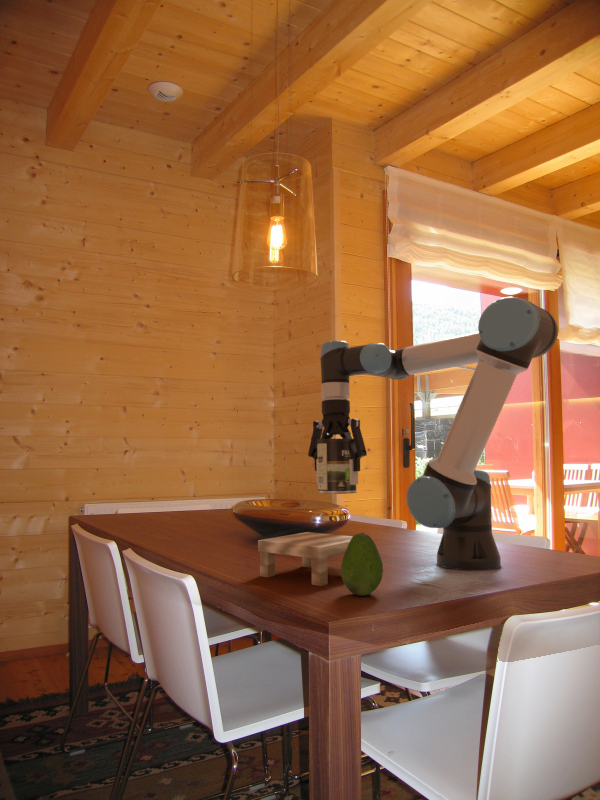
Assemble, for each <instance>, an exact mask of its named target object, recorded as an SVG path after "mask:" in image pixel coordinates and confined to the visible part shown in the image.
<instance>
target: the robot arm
mask: <svg viewBox="0 0 600 800" xmlns="http://www.w3.org/2000/svg"><path fill="white" fill-rule="evenodd" d="M477 328H478V329H477V330H478V331H474V332H471V333H466V334H461V335H456V336H452V337H448V338H444V339H439V340H434V341H430V342H429V341H428V342H425V343H420V344H415V345H412V346H407V347H403V348H399V349H398V348H397V349H394V350H393V349H390V348H389V347H388V346H387V345H386V344H385V343H382V342H378V343H377V342H376V343H372V342H370V343H368V344H361V345H355V346H351V347H350V346H349V343H348V342H347V341H345V340H328V341H325V342H323V343H322V344H321V346H320V348H321V349H320V359H319V360H320V369H321V370H320V373H321V381H320V382H321V385H320V386H321V389H320V390H321V391H320V392H321V393H320V394H321V395H320V398H321V399H323V400H322V401H321V414H322V420H313V422H312V428H313V429H312V435H311V439H310V444H309V447H308V448H309V449H308V453H307V455H308V457H310V458H313V459H314V471H315V472H316V485H318V453H317V452H318V451H317V439H333V437H334V436H337V435H339V436H340V438H341V439H354V442H355V443H350V442H349V452H350V454H351V456H352V458H351V459H349V468H350V485H356V486H357V485H359V472H360V471H361V458H363V457H367V455H368V452H367V449H366V446H365V442H364V438H363V434H362V430H361V420H360V419H359V418H351V417H350V413H351V401H350V400H348V399H349V398H351V397H350V396H351V395H350V391H351V390H350V377H352V376H353V377H354V376H363V375H367V376H373V377H374V376H375V377H381V378H385V379H390V380H395V381H397V380H405V379H407V378H409V377H410V376H412V375H417V374H425V373H427V372H428V373H429V372H433V371H439V370H445V369H446V370H447V369H451V368H456V367H462V366H466V365H473V364H476V367H475V368H474V369H475V370H474V372H473V373H472V377H471V379H470V380H469V384H468V386H467V388H466V390H465V392H464V395H463V397H462V399H461V402H460V404H459V407H458V409H457V411H456V413H455V415H454V419H453V421H452V423H451V425H450V428H449V430H448V432H447V435H446V437H445V440H444V441H443V444H442V446H441V449H440V451H439V454H438V455H437V457H434V458H432V459H430V460H428V461H427V465H426V467H425V469H424V472H423V474H422V476H419V477H417V478H415V479H414V480H413V481H411V483H410V485H409V486H408V489H407V491H406V506H407V507H408V510H409V513H410V515H411V516H412V518H413V519H414V521H416V522H417V523H419V524H420V525H422V526H424V527H425V528H426V527H427V528H431V529H442V536H441V540H440V542H439V544H438V545H439V546H438V548H437V553H436V564H437V565H438V566H441V567H443V568H448V569H454V570H455V569H456V570H467V571H484V570H487V571H488V570H493V569H499V568H500V567H502V561H501V554H500V552H499V550H498V547H497V543H496V541H495V538H494V535H493V527H492V524H493V521H492V484H491V480H490V478H491V477H490V474H489V473H488V472H486V471H484V470H479V469H476V468H477V466H478V464H479V461H480V459H481V458H482V455H483V452H484V451H485V448H486V446H487V444H488V441H489V439H490V437H491V435H492V432H493V430H494V427H495V426H496V423H497V421H498V418H499V416H500V414H501V412H502V410H503V407H504V405H505V403H506V401H507V399H508V396H509V394H510V391H512V387H513V385H514V382H515V380H516V378H517V376H518V375H519V374H521V373H523V372H525V371H527V370H528V369H529V367H530V365H531V363H532V360H533V359H535V358H539V357H542V356H543V355H546V354H547V353H548V352H550V351H551V349H553V347H554V345H555V344H556V342H557V339H558V335H559V328H558V324H557V321H556V319H555V318H554V316H553V315H552V314H551V313H550V312H549V311H548V310H546V309H544V308H542V307H539V306H538V305H536V304H535V303H533V302H531V301H529V300H527V299H524V298H519V297H516V296H515V297H514V296H506V297H501V298H499V299H497V300H495V301H493V302H491V303H490V304H489V305H488V306H486V308H485V309H484V310H483V312H482V313H481V315H480V317H479V319H478V326H477ZM349 427H350V429H349ZM351 435H352V436H351Z"/></svg>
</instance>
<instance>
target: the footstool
mask: <svg viewBox="0 0 600 800" xmlns="http://www.w3.org/2000/svg"><path fill="white" fill-rule="evenodd" d="M353 536H354V535H343V534H334V533H333V534H331V533H320V532H312V531H311V532H310V531H306V532H299V533H295V534H289V535H283V536H282V535H281V536H276V537H270V538H265V539H259V540H257V551H258V552H259V577H262V578H263V577H264V578H271V577H275V575H276V569H275V568H276V554H277V555H278V554H279V555H284V556H285V555H286V556H293V557H294V556H295V557H301V567H303V568H304V567H305V568H311V585H313V586H318V587H323V586H326V585H327V586H328V583H329V581H328V558H332V557H336V556H340V555H344V554H345V551H346V549H347V547H348V544H349V542H350V540H351V539H352V537H353Z"/></svg>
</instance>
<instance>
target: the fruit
mask: <svg viewBox="0 0 600 800" xmlns="http://www.w3.org/2000/svg"><path fill="white" fill-rule="evenodd" d="M352 536H353V537H352V539H351V540H350V542H349V544H348V547H347V549H346V551H345V554H343V557H342V561H341V565H340V566H341V567H340V574H341V579H342V582H343V584H344V585H345V587H346V588H347V590H348V591H349V592H351V593H352V594H353V595H356V596H358V597H359V596H368V595H370V594H371V593H373V592H374V591H376V590H377V588H378V587H379V585H380V584H381V583H382V579H383V573H384V567H383V566H384V564H383V560H382V558H381V555H380V552H379V550H378V548H377V545H376V543H375V541H374V540H373V539H372V537H371V536H370V535H369V534H366V533H364V532H359V533H356V534H354V535H352Z"/></svg>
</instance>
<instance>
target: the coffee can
mask: <svg viewBox="0 0 600 800" xmlns="http://www.w3.org/2000/svg"><path fill="white" fill-rule="evenodd" d="M349 442H350V443H355V442H354V439H353V438H352V439H343V438H331V439H317V451H318V452H317V453H318V484H317V493H318V494H323V495H327V494H328V495H340V494H341V495H345V494H348V495H349V494H356V493H358V492H357V484H356V485H350V468H349V459H351V458H352V456H351V454H350V452H349Z"/></svg>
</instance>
